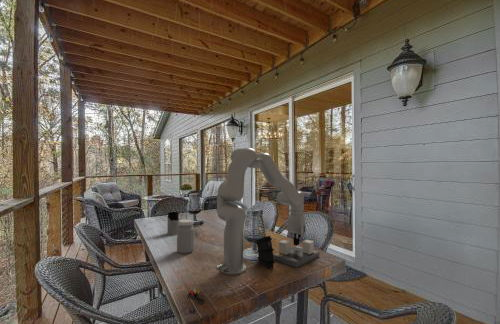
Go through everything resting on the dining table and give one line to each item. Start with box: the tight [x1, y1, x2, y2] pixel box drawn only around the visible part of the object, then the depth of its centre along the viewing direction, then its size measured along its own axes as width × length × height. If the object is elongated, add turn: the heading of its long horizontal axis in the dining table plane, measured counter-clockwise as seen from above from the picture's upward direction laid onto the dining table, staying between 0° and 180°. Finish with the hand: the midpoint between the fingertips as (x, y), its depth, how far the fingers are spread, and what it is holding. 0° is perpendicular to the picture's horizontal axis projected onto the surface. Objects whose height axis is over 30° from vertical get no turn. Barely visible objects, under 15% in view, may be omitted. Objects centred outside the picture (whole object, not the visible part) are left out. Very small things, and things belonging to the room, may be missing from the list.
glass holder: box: [166, 211, 188, 236], centre depth 183 cm, size 9×14×15 cm, turn 115°
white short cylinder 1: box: [278, 239, 292, 255], centre depth 136 cm, size 4×4×6 cm
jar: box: [176, 218, 195, 255], centre depth 145 cm, size 10×10×18 cm
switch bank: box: [273, 245, 320, 268], centre depth 137 cm, size 22×15×3 cm
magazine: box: [255, 235, 276, 270], centre depth 128 cm, size 4×13×15 cm, turn 26°
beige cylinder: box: [302, 239, 315, 254], centre depth 137 cm, size 4×4×6 cm
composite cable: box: [187, 287, 205, 305], centre depth 95 cm, size 10×5×2 cm, turn 28°
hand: (296, 244), depth 143 cm, fingers closed
